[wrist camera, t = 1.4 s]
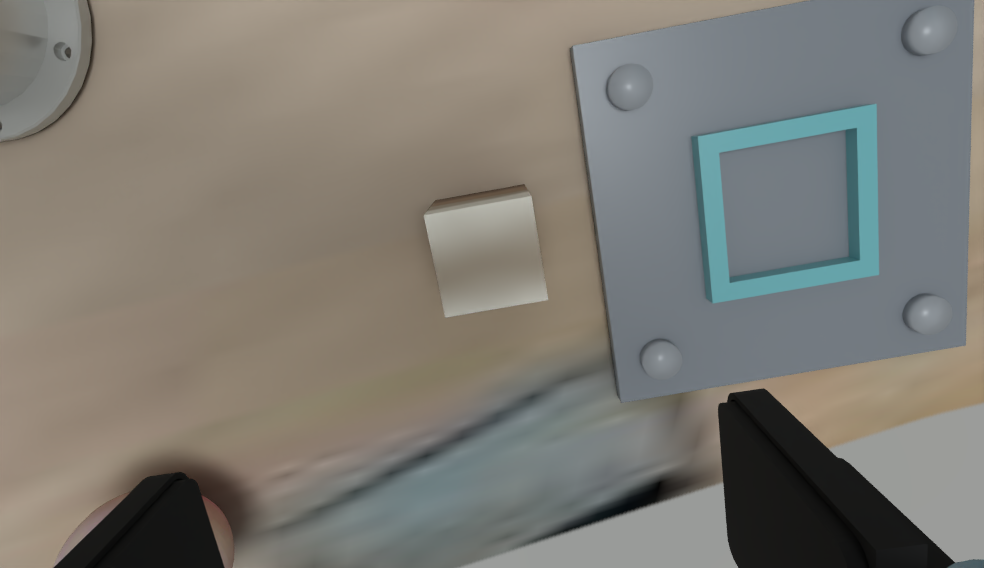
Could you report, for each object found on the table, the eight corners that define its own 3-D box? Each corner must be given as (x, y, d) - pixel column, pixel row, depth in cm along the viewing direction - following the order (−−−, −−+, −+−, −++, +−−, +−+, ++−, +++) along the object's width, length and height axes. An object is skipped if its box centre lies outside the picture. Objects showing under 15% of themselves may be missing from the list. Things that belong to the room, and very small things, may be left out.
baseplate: (569, 48, 31) (575, 43, 29) (959, -27, 30) (991, -37, 28) (617, 395, 36) (625, 410, 34) (952, 339, 35) (979, 351, 33)
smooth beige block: (435, 200, 33) (423, 215, 27) (524, 184, 33) (531, 195, 27) (453, 285, 34) (445, 317, 28) (538, 270, 34) (548, 299, 28)
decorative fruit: (184, 422, 36) (73, 529, 26) (285, 506, 38) (215, 637, 28) (90, 514, 38) (-47, 647, 28) (191, 591, 39) (94, 742, 30)
